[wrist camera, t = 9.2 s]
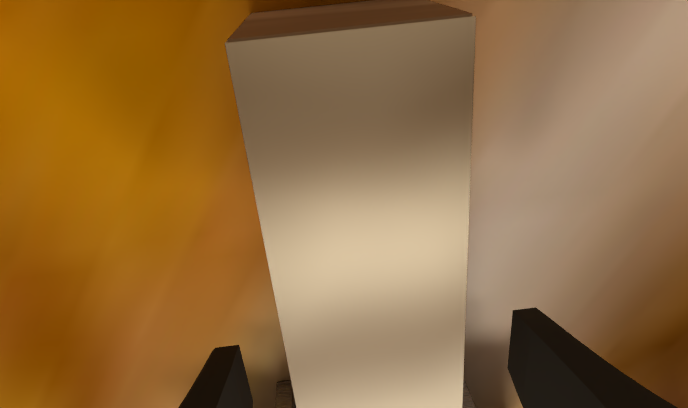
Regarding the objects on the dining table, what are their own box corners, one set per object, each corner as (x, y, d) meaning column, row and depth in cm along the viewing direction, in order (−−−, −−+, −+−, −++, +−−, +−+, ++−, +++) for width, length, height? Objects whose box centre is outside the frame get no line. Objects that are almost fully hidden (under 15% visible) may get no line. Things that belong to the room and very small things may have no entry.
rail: (422, 404, 20) (457, 528, 16) (318, 419, 20) (324, 548, 16) (414, -5, 13) (475, 13, 9) (249, 13, 13) (224, 40, 8)
